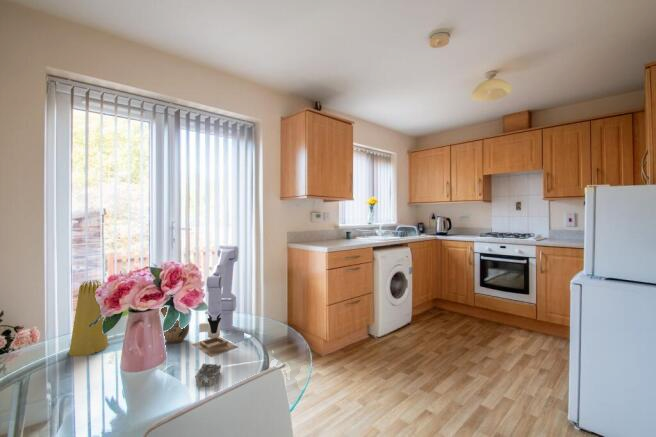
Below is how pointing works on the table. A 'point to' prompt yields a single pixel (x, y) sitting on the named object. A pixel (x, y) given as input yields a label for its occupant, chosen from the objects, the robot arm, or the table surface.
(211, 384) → the grey speckled lump
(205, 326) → the jug
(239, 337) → the mat
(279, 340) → the table surface
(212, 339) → the tray
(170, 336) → the ceramic vessel
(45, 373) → the table surface
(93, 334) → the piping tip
